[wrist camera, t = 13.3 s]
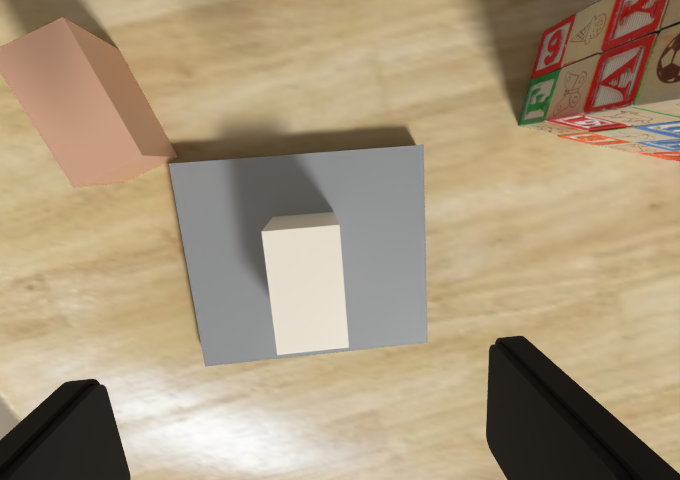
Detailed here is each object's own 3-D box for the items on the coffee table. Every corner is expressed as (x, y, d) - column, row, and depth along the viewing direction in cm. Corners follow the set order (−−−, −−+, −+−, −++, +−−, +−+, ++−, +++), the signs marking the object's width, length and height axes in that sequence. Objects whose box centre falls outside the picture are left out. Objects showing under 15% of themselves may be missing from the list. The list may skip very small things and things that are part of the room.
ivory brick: (272, 216, 22) (261, 231, 18) (334, 211, 23) (339, 224, 18) (284, 316, 24) (277, 355, 19) (341, 310, 24) (348, 347, 19)
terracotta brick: (62, 78, 21) (-13, 53, 16) (120, 50, 21) (62, 16, 16) (124, 182, 23) (73, 187, 18) (178, 157, 23) (142, 155, 18)
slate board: (177, 163, 23) (168, 163, 21) (416, 145, 24) (423, 144, 22) (211, 354, 26) (205, 366, 24) (421, 332, 27) (427, 342, 25)
